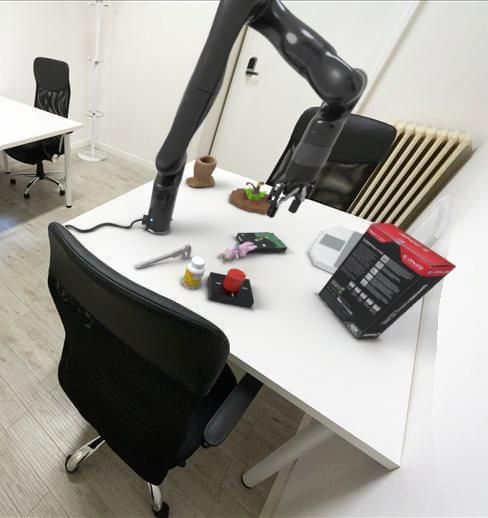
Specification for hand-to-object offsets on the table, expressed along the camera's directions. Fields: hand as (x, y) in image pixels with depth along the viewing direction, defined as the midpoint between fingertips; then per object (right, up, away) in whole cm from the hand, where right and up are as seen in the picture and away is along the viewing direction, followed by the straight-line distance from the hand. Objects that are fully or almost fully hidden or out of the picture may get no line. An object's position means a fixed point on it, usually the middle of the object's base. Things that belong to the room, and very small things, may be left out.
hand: (280, 214), depth 85 cm
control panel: (-13, -24, +5) cm, 28 cm away
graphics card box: (+19, -30, 0) cm, 35 cm away
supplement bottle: (-24, -21, +8) cm, 33 cm away
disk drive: (+8, -8, +26) cm, 28 cm away
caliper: (-31, -15, +15) cm, 38 cm away
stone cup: (-1, +25, +65) cm, 70 cm away
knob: (-13, -21, +3) cm, 25 cm away
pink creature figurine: (-4, -12, +20) cm, 24 cm away
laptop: (+40, -13, +22) cm, 48 cm away
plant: (+18, +13, +52) cm, 57 cm away
